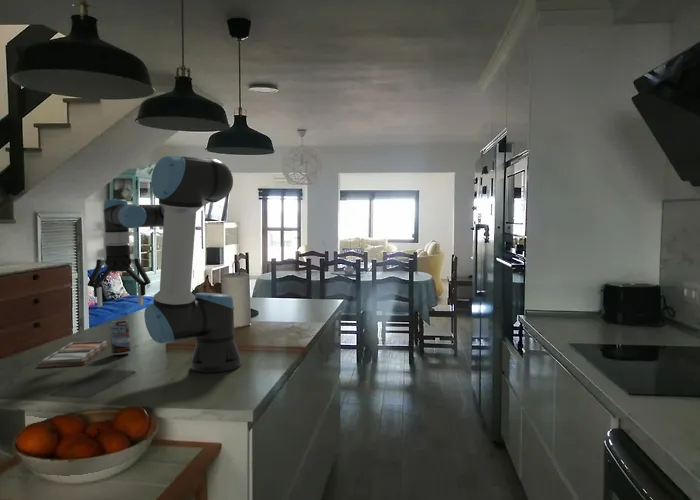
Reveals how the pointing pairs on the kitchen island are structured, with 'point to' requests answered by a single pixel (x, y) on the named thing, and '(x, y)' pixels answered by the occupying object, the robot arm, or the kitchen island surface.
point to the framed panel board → (74, 354)
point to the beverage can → (120, 337)
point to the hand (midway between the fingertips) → (120, 305)
